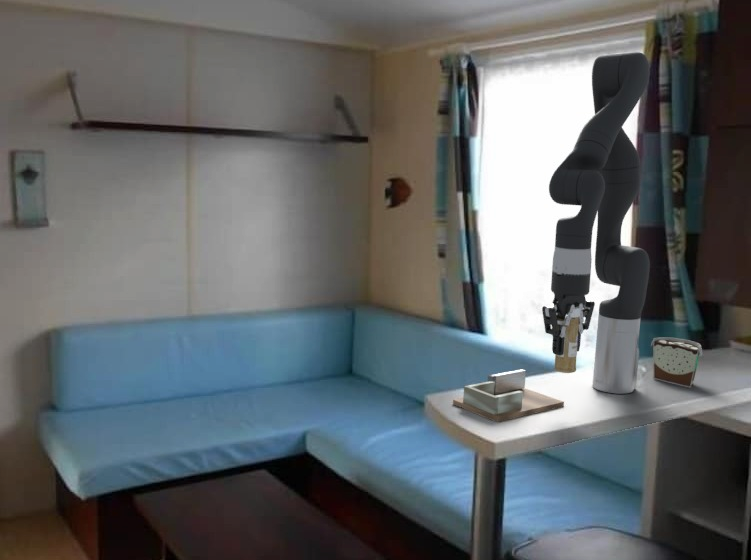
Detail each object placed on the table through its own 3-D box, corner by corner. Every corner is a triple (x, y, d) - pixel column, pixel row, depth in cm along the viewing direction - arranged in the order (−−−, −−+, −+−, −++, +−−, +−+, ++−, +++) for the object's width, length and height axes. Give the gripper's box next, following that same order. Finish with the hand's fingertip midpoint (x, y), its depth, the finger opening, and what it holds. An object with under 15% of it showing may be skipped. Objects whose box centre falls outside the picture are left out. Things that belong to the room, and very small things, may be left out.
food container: (707, 384, 189) (712, 344, 188) (696, 389, 185) (701, 347, 184) (659, 373, 198) (663, 334, 196) (647, 377, 194) (651, 337, 192)
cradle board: (518, 390, 178) (519, 371, 177) (563, 406, 168) (565, 385, 167) (453, 404, 166) (454, 383, 165) (497, 422, 156) (498, 400, 155)
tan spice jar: (578, 374, 159) (583, 308, 157) (555, 373, 159) (559, 308, 157) (573, 367, 163) (578, 304, 161) (551, 367, 164) (555, 303, 161)
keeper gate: (490, 395, 169) (492, 377, 168) (484, 393, 170) (486, 375, 170) (525, 388, 175) (526, 370, 175) (519, 386, 177) (520, 368, 176)
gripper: (579, 264, 165) (573, 344, 168) (533, 269, 156) (528, 353, 159) (609, 269, 159) (602, 351, 162) (563, 275, 150) (557, 362, 153)
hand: (565, 352), depth 160 cm, fingers closed on tan spice jar, 4 cm apart
